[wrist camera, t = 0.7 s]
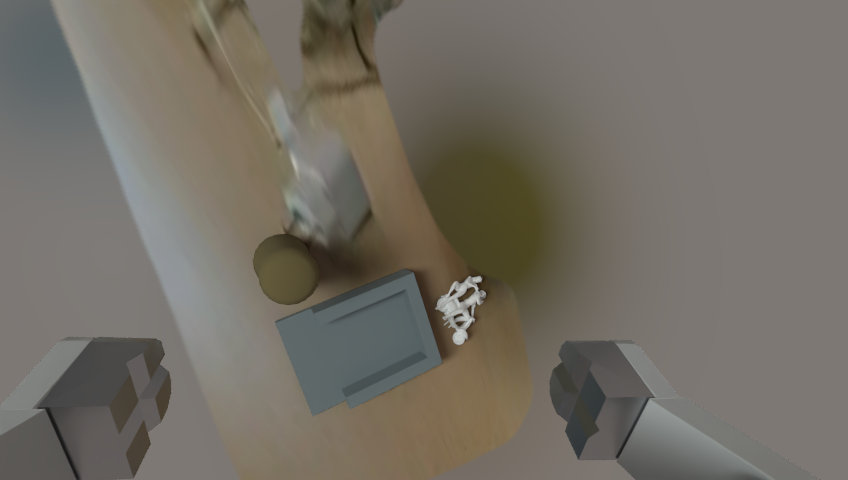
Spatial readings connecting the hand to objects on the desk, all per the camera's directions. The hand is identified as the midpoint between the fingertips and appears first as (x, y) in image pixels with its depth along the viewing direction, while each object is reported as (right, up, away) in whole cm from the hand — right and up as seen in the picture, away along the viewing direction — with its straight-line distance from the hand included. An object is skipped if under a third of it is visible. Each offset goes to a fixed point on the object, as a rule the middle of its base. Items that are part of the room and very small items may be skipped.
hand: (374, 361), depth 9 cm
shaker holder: (-7, -9, +42) cm, 44 cm away
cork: (-15, 0, +38) cm, 41 cm away
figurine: (+6, -6, +48) cm, 48 cm away
